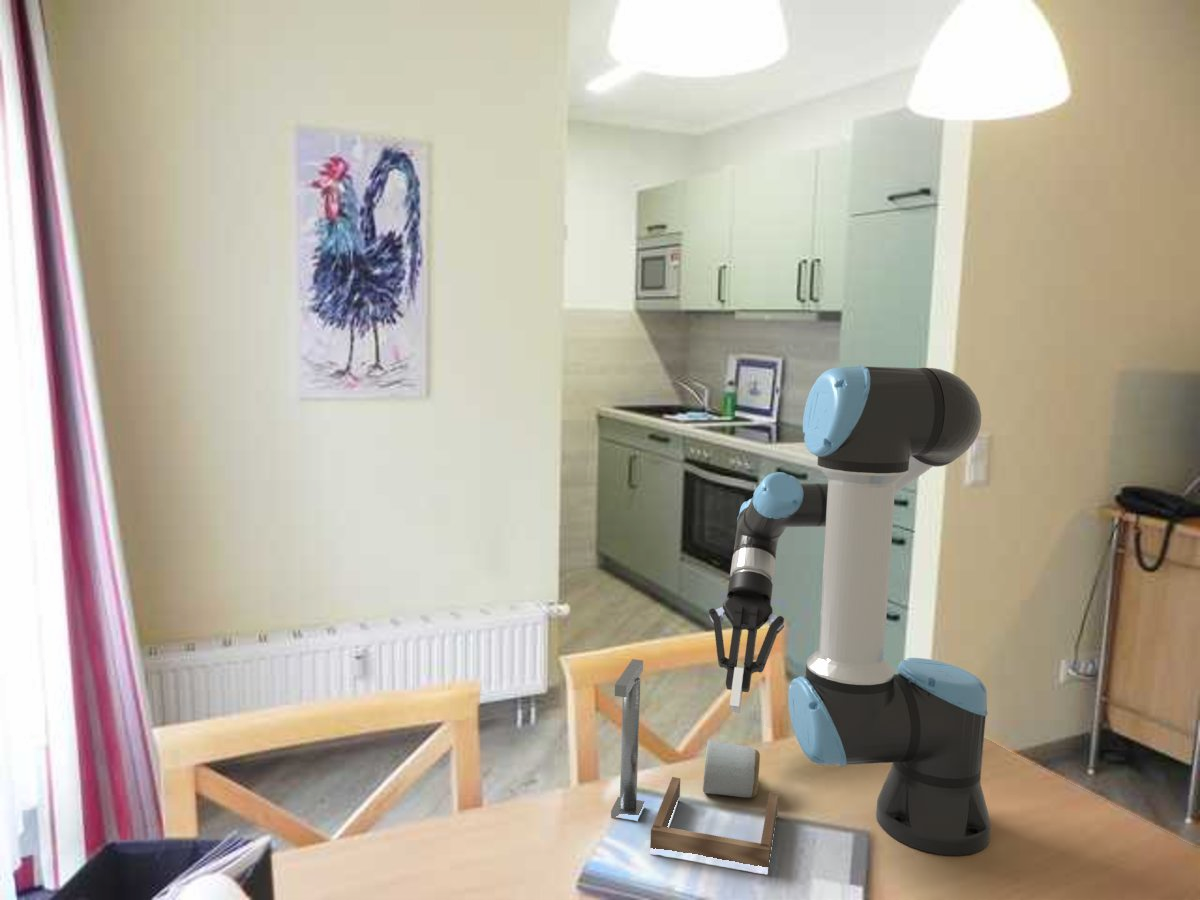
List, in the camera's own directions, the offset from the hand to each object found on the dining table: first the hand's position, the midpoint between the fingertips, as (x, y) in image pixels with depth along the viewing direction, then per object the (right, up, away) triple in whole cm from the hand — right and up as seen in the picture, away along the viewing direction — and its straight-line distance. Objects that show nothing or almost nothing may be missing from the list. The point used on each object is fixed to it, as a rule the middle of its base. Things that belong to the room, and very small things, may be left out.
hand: (734, 708), depth 140 cm
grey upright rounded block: (-2, -10, -6) cm, 12 cm away
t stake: (-18, -11, -15) cm, 26 cm away
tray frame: (-5, -12, -19) cm, 23 cm away
